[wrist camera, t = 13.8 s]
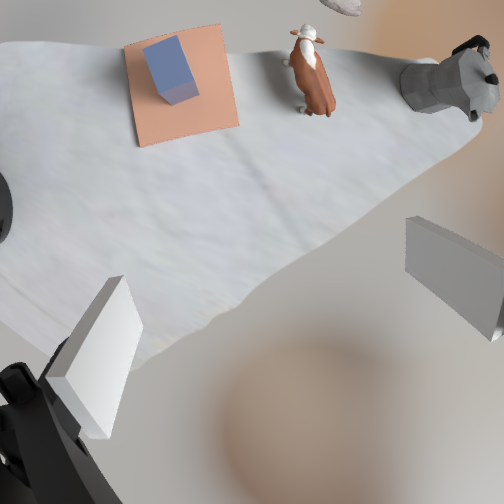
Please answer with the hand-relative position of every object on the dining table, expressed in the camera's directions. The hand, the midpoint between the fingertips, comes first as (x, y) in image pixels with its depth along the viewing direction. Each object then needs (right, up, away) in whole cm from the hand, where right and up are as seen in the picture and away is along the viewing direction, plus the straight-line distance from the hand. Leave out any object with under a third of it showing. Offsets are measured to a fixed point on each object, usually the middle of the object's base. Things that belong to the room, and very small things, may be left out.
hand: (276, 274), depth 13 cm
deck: (-11, +24, +23) cm, 35 cm away
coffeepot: (+28, +29, +27) cm, 48 cm away
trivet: (-11, +24, +24) cm, 36 cm away
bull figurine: (+6, +26, +25) cm, 37 cm away
